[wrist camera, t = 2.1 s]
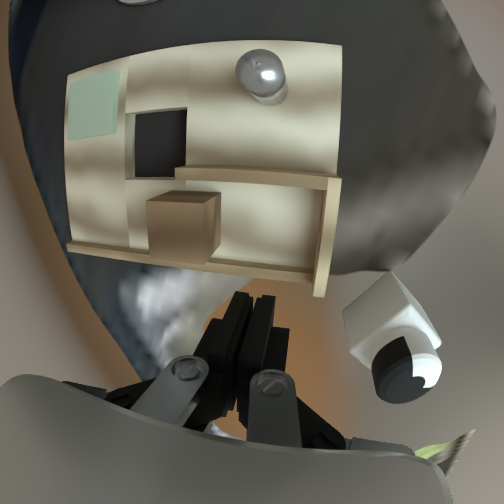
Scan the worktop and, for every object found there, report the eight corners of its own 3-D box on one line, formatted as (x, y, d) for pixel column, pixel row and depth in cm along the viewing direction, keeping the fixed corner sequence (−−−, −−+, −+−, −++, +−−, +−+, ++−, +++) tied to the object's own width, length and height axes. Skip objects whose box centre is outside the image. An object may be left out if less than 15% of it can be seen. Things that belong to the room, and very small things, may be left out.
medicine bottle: (376, 343, 31) (395, 421, 20) (340, 310, 30) (353, 392, 19) (421, 306, 28) (460, 378, 17) (389, 268, 27) (429, 338, 16)
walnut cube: (171, 190, 26) (145, 200, 21) (221, 192, 25) (203, 203, 21) (173, 239, 28) (149, 258, 23) (220, 244, 27) (204, 265, 22)
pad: (74, 83, 23) (70, 83, 22) (120, 70, 22) (116, 69, 21) (72, 140, 25) (67, 140, 25) (116, 133, 25) (112, 133, 24)
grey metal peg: (254, 73, 21) (236, 49, 14) (289, 75, 20) (284, 49, 14) (252, 105, 22) (233, 90, 15) (287, 107, 21) (282, 91, 15)
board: (78, 76, 24) (47, 72, 19) (339, 52, 20) (347, 32, 15) (83, 242, 33) (56, 258, 28) (321, 270, 28) (324, 297, 23)
